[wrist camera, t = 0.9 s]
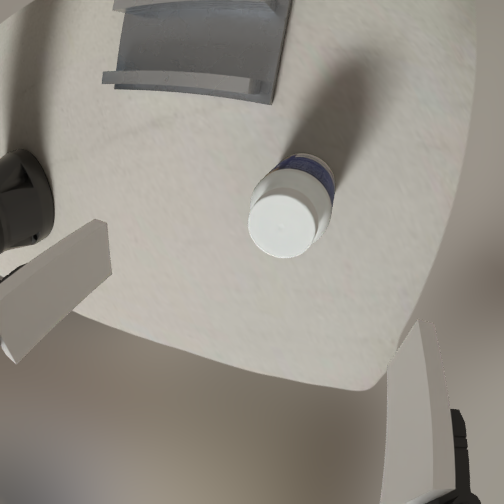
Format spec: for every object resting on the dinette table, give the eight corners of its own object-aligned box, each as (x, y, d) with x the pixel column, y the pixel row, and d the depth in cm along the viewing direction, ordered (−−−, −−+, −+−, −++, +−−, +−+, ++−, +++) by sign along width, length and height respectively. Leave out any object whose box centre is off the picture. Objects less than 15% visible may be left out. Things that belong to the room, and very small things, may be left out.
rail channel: (119, 88, 26) (93, 91, 22) (132, 0, 20) (108, -6, 17) (271, 104, 23) (259, 105, 20) (292, -3, 18) (282, -18, 15)
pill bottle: (282, 143, 24) (247, 168, 16) (344, 165, 24) (342, 201, 15) (266, 200, 27) (227, 250, 19) (323, 221, 27) (309, 281, 18)
